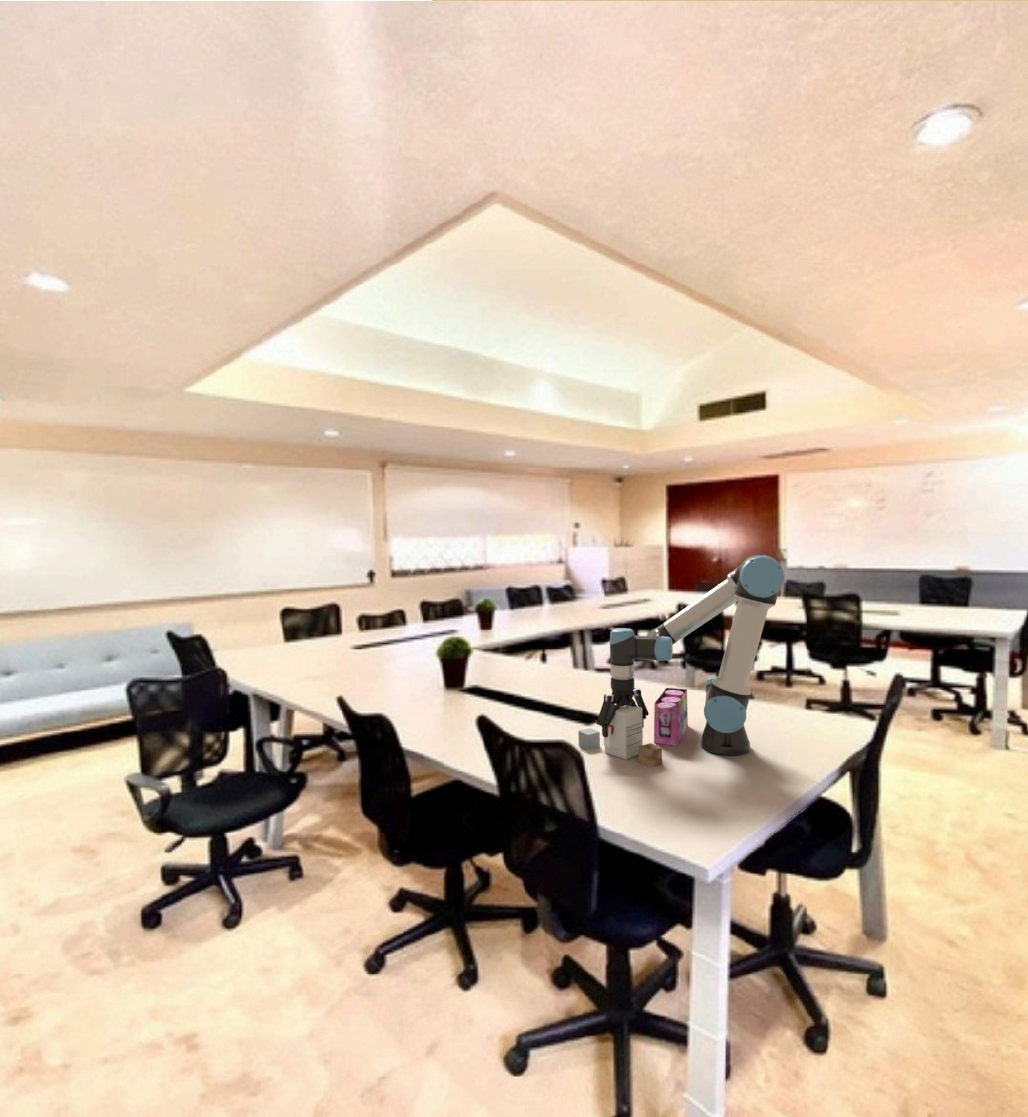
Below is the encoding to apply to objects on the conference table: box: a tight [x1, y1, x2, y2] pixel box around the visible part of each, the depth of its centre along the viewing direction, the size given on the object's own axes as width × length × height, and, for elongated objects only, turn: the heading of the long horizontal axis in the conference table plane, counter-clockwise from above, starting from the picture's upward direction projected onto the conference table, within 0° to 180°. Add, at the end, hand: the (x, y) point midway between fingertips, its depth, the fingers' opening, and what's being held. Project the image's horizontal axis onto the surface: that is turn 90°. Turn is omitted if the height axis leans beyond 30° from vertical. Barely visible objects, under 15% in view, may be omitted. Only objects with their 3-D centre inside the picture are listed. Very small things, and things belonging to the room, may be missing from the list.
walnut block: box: [638, 742, 663, 768], centre depth 185 cm, size 5×5×5 cm
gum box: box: [653, 687, 689, 747], centre depth 209 cm, size 24×8×14 cm, turn 155°
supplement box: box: [604, 704, 644, 761], centre depth 193 cm, size 9×9×15 cm
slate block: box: [578, 727, 601, 751], centre depth 201 cm, size 5×5×5 cm
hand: (623, 742), depth 193 cm, fingers open, 13 cm apart
